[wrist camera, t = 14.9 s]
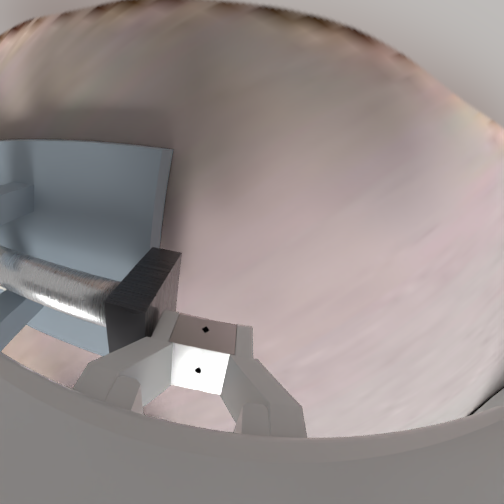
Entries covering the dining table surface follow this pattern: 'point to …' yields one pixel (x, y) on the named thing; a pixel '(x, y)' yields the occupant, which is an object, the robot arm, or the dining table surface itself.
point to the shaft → (99, 292)
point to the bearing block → (77, 220)
